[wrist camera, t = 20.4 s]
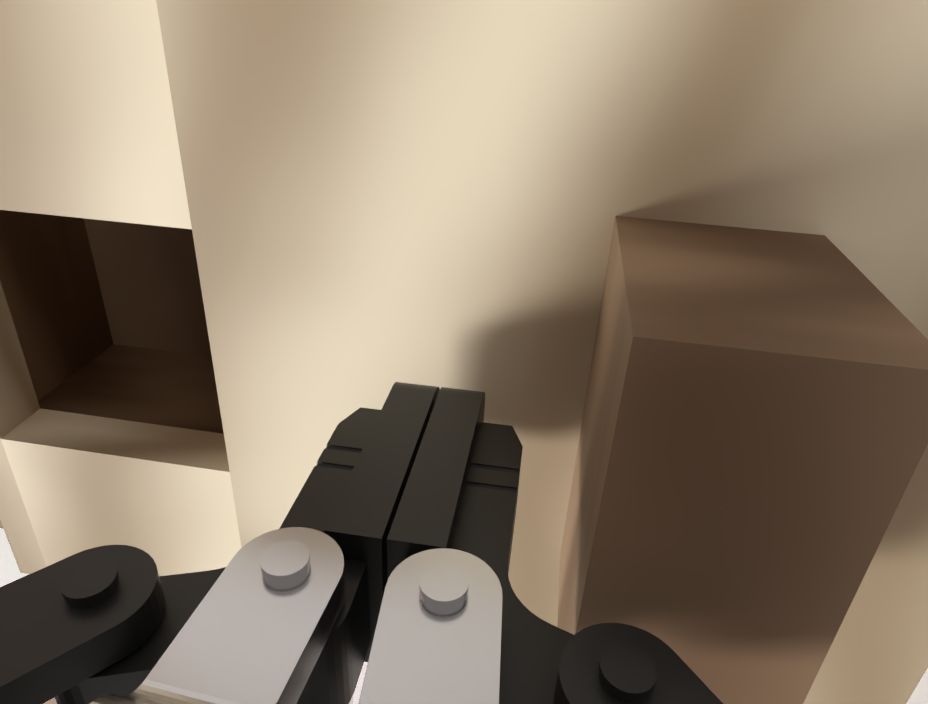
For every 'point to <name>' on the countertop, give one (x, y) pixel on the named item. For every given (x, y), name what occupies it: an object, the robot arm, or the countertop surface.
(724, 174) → the lid
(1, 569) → the countertop surface
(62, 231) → the wooden box
